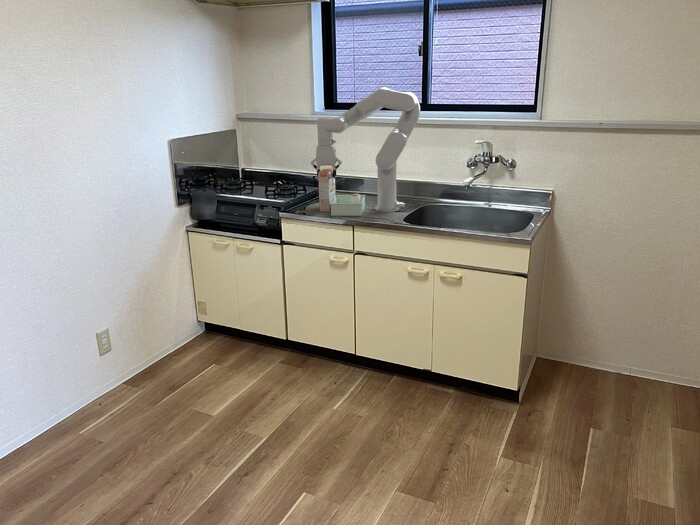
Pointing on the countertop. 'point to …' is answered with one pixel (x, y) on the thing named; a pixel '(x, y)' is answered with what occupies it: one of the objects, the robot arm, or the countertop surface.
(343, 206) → the tote
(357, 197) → the jar
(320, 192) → the cracker box
